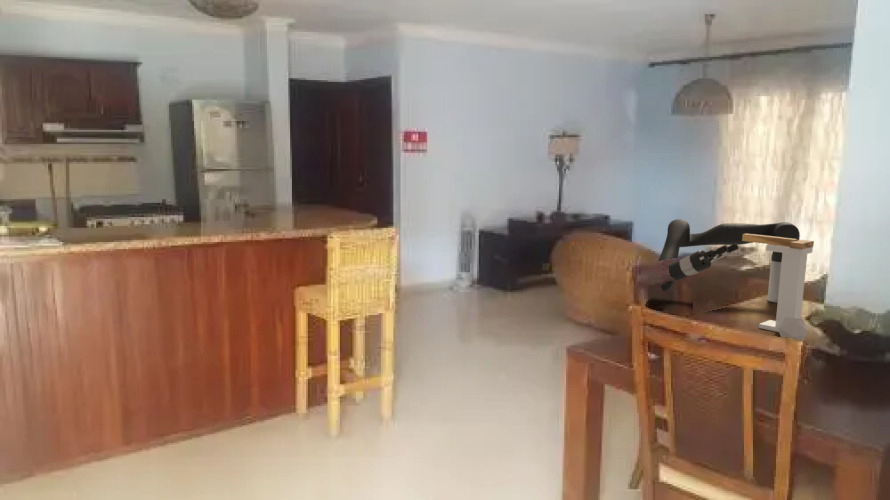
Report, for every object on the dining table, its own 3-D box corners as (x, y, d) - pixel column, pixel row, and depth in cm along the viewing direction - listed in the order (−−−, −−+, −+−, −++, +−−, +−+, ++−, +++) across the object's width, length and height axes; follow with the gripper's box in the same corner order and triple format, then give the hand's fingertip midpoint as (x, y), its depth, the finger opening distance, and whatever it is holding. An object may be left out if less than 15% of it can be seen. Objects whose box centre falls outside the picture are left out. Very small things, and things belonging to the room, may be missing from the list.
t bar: (749, 239, 252) (750, 232, 252) (813, 246, 236) (814, 239, 236) (737, 241, 246) (738, 234, 245) (802, 249, 230) (802, 242, 229)
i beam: (769, 323, 249) (777, 242, 245) (804, 330, 241) (812, 246, 236) (758, 327, 243) (766, 244, 239) (793, 335, 235) (802, 249, 230)
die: (807, 342, 228) (791, 316, 232) (818, 336, 220) (802, 308, 223) (784, 352, 228) (768, 324, 231) (795, 346, 219) (778, 318, 223)
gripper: (708, 270, 268) (745, 254, 256) (689, 274, 258) (727, 258, 247) (700, 252, 269) (736, 236, 258) (681, 256, 260) (719, 239, 248)
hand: (732, 246), depth 252 cm, fingers open, 8 cm apart
